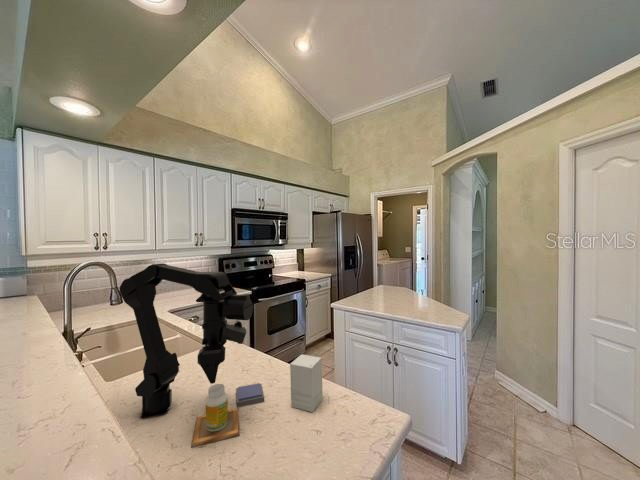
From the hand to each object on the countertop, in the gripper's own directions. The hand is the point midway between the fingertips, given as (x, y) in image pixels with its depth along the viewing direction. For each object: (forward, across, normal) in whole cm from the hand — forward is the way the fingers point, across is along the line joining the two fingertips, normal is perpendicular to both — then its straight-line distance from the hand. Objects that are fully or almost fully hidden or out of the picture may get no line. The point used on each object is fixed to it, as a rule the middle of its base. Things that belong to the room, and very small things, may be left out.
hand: (214, 374), depth 71 cm
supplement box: (+12, -2, -26) cm, 29 cm away
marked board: (+12, -4, -1) cm, 12 cm away
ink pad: (+12, +7, -10) cm, 17 cm away
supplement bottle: (+12, -4, -1) cm, 12 cm away
